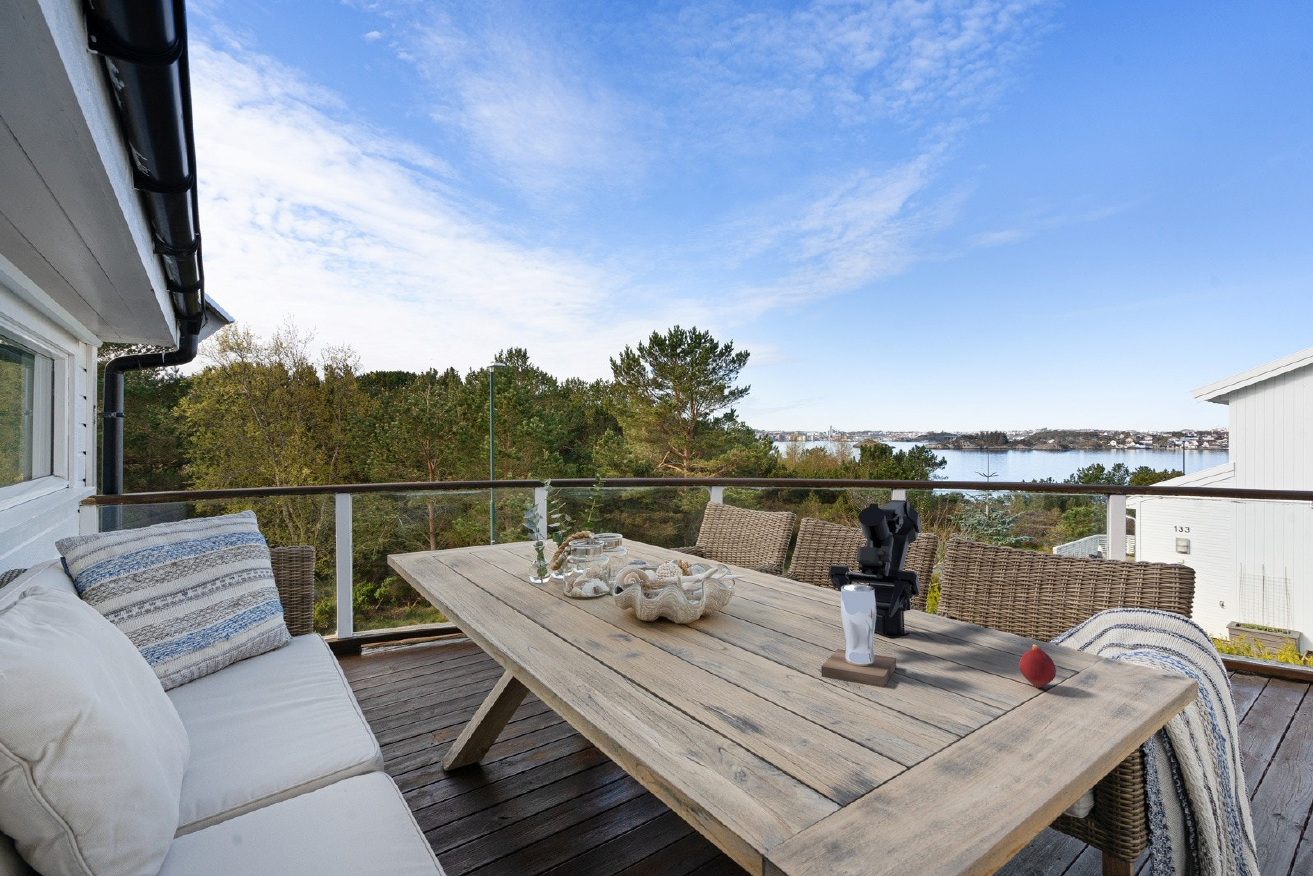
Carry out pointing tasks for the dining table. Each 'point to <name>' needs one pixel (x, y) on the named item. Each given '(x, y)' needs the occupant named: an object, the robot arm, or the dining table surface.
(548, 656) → the dining table surface
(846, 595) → the beer glass
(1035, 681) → the onion
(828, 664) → the walnut board
